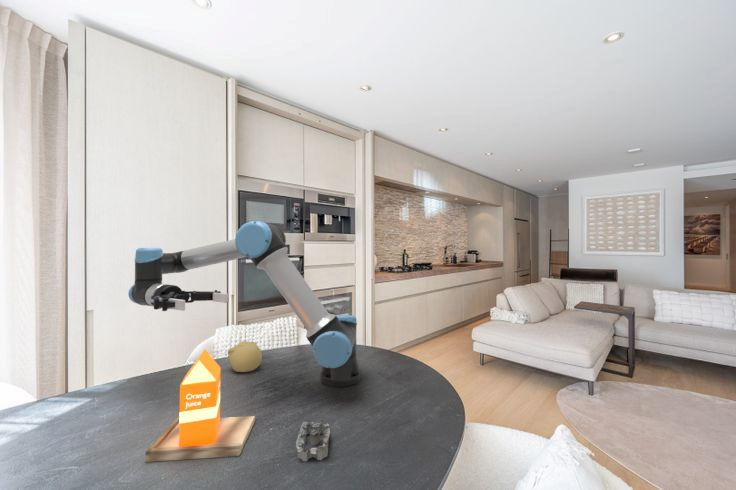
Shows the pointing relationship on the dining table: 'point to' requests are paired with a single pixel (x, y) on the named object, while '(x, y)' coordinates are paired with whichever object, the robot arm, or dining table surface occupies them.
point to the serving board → (227, 444)
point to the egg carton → (313, 440)
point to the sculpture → (245, 356)
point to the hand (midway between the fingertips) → (207, 301)
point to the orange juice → (200, 403)
